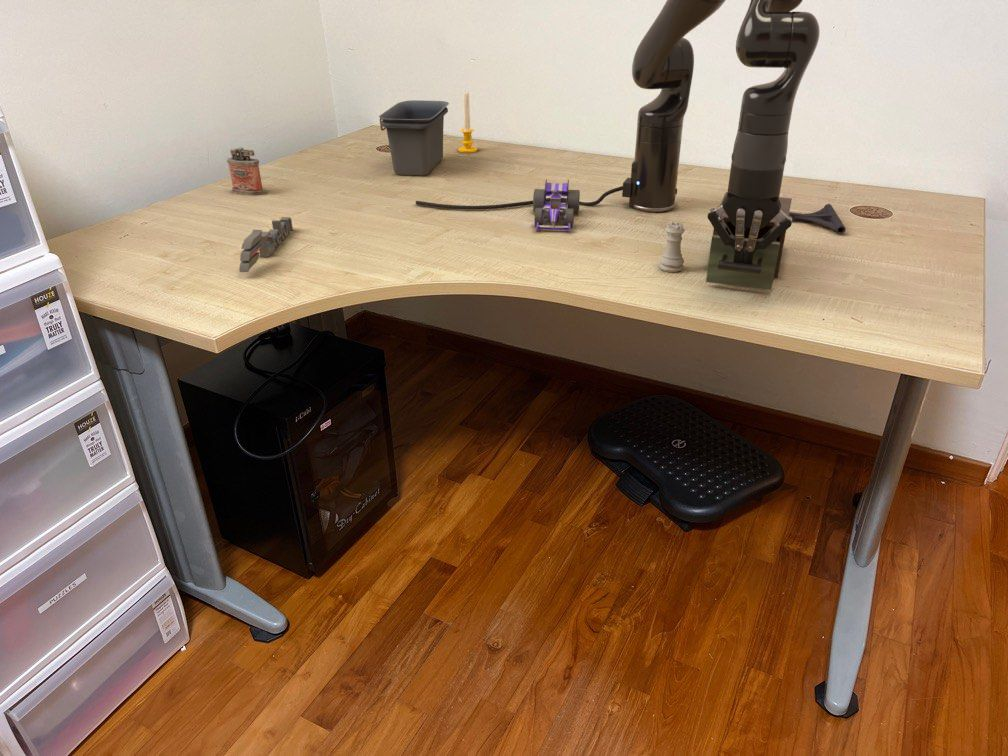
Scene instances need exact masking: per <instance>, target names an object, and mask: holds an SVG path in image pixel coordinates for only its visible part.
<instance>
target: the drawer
mask: <svg viewBox="0 0 1008 756" xmlns="http://www.w3.org/2000/svg"><path fill="white" fill-rule="evenodd" d="M725 224H726V225H727V227H728V228H729V230H730V231H731V233H732V234H733V236H735V233H736V227H735V226H734V225H733V224H732V223H731V222H725ZM772 228H773V227H771V226H765V227H764V228H762V229H759V232H758V236H757V239H761V238H762V237H763V236H764V235H765V234H766V233H767V232H768V231H770V230H771V229H772ZM749 234H750V229H748V228H746V230H745V241H744V243H745V244H744V247H745V248H746V246H747V242H748V238H749ZM735 237H736V236H735ZM779 245H780V242H776V240H775V241H774V242H772V243H771V244H770V245H769V246H768V247H767V248H766V249H758V250H756V251H755V252H754V256H753V262H752V264H746V263H737V262H733V260H734V253H735V249H734V248H733V247H732V246H730V245H729V246H726V245H725V244H724V243H723V241H722V240H721V238H720V237H719V235H713V234H712V235H711V240H710V248H709V254H708V262H707V269H706V277H705V283H710V284H711V283H712V284H718V285H726V286H734V287H735V286H736V287H740V288H742V287H743V288H750V289H756V290H757V289H758V290H766V291H772V289H773V283H774V278H775V277H774V273H775V267H776V262H777V256H778V251H779ZM736 272H739V273H736ZM744 273H746V274H744Z"/></svg>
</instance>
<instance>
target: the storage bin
mask: <svg viewBox="0 0 1008 756" xmlns="http://www.w3.org/2000/svg"><path fill="white" fill-rule="evenodd" d="M449 105H450V103H449V102H448V101H443V100H421V99H420V100H417V99H416V100H415V99H414V100H412V99H411V100H404V101H403V100H402V101H399V102H397V103H396V104H394V105H392V106H391V107H390V108H387V110H385V111H384V112H383V113H380V115H378V118H379V126H380V131H382V132H383V131H385V130H386V135H387V140H388V145H389V151H390V156H391V162H392V166H393V167H392V168H393V172H394V174H396V175H398V176H423V177H424V176H428V175H429V173H430V172H431V171H432V170H433V169H434V168H436V166H437V165H438V163H440V162H441V161H442V159H443V158H444V121H445V115H446V114H447V113H449V109H448V106H449Z"/></svg>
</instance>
